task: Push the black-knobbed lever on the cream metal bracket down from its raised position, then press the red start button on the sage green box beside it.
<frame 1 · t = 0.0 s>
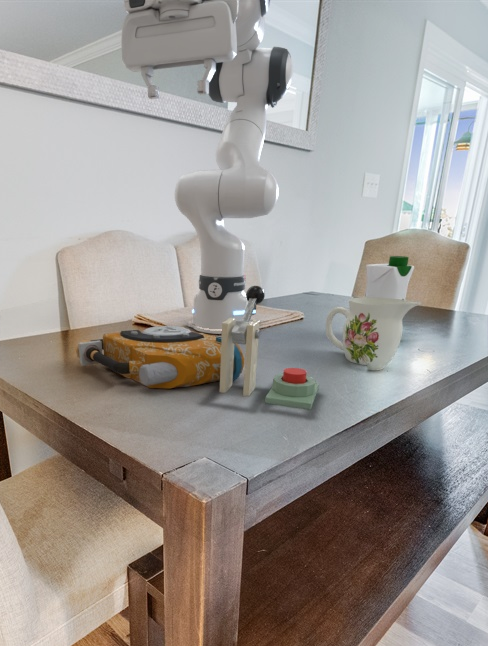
hand: (177, 96, 81), 48 cm above the table, tool pointing down, fingers open, 8 cm apart
button: (294, 376, 74), point 5 cm above the table, slide at 0.2 cm
device: (153, 376, 88), on the table, touching bracket
button box: (292, 402, 75), on the table
milk carton: (377, 339, 116), on the table
pitcher: (361, 365, 95), on the table
bracket: (237, 396, 78), on the table
lever: (248, 312, 77), point 13 cm above the table, hinge at 28.0°
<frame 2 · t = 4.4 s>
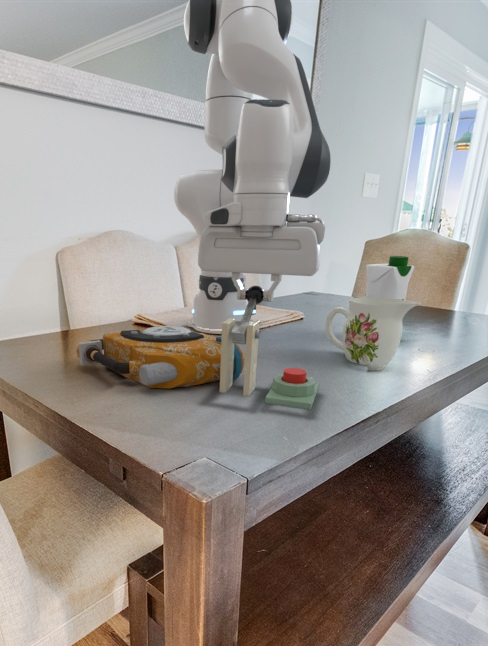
hand: (254, 300, 80), 15 cm above the table, tool pointing down, fingers closed on lever, 3 cm apart
lever: (248, 312, 77), point 13 cm above the table, hinge at 28.0°, touching gripper
everything else where it was.
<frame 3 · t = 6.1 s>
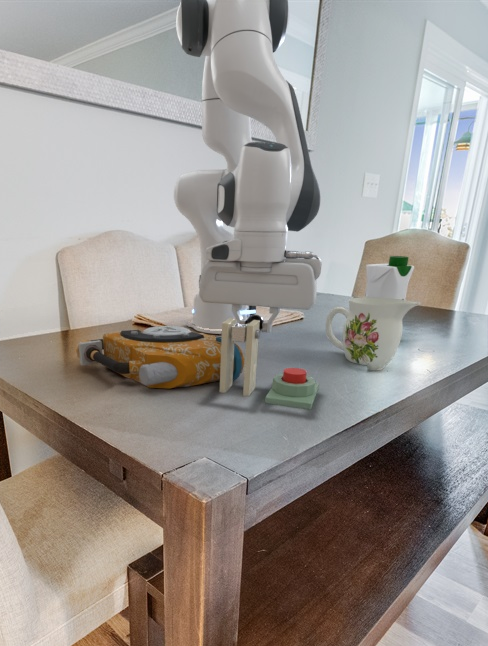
hand: (253, 330, 83), 9 cm above the table, tool pointing down, fingers closed on lever, 3 cm apart
lever: (248, 327, 78), point 11 cm above the table, hinge at -3.0°, touching gripper
everything else where it was.
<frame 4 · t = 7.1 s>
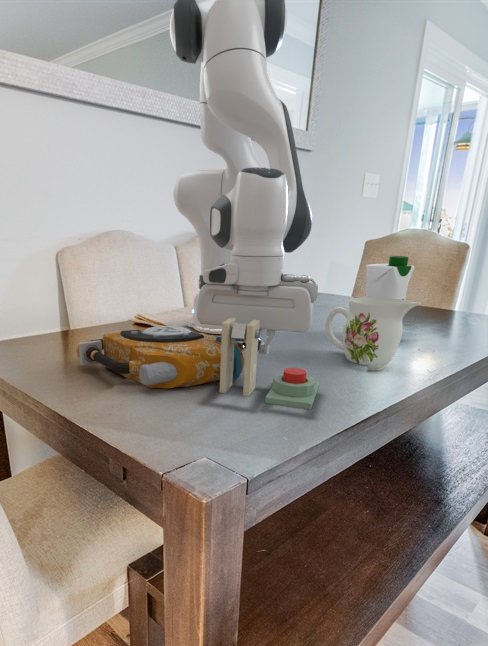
hand: (251, 352, 83), 6 cm above the table, tool pointing down, fingers closed on lever, 3 cm apart
device: (153, 376, 88), on the table, touching bracket, gripper
lever: (247, 338, 78), point 9 cm above the table, hinge at -24.1°, touching gripper
everything else where it was.
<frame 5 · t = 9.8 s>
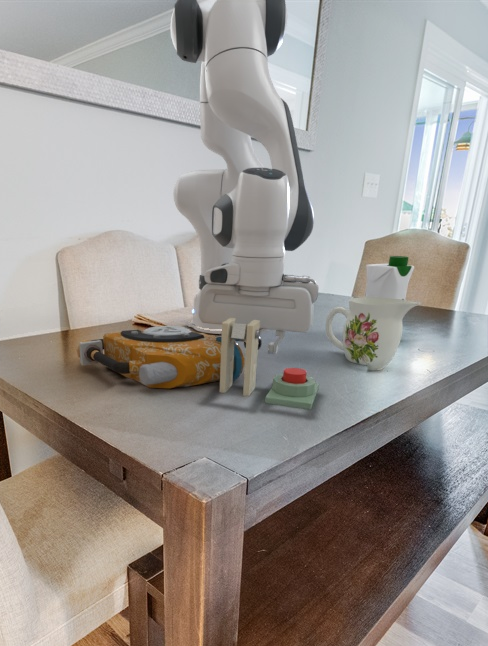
hand: (252, 351, 84), 5 cm above the table, tool pointing down, fingers open, 6 cm apart
lever: (247, 338, 78), point 9 cm above the table, hinge at -22.9°
everything else where it was.
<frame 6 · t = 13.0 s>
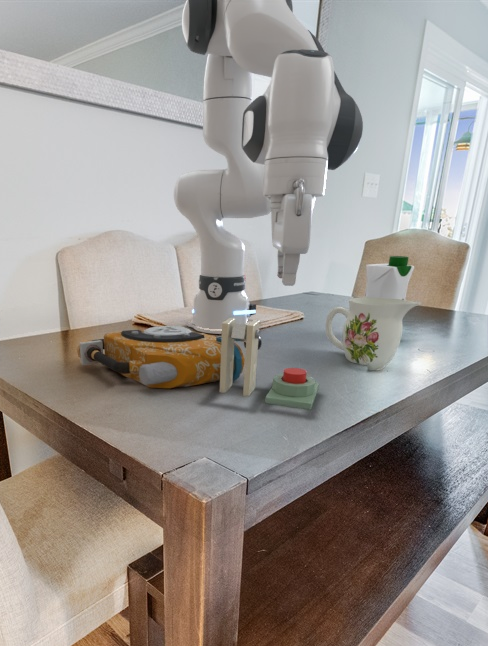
hand: (285, 281, 72), 19 cm above the table, tool pointing down, fingers open, 8 cm apart
device: (154, 376, 88), on the table, touching bracket
everything else where it was.
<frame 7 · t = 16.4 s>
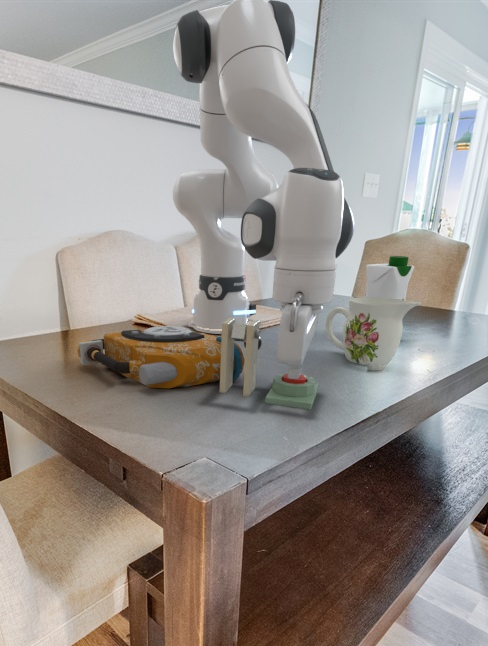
hand: (294, 376, 74), 5 cm above the table, tool pointing down, fingers closed, pressing on button
button: (294, 381, 74), point 4 cm above the table, slide at -0.8 cm, touching gripper
everything else where it was.
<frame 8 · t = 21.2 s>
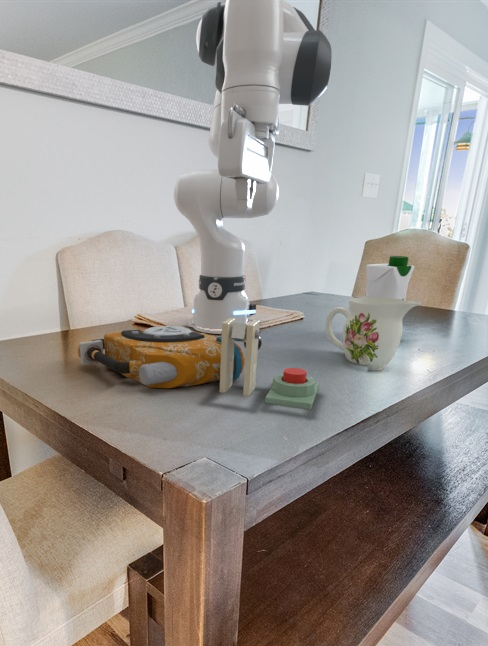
hand: (244, 211, 77), 29 cm above the table, tool pointing down, fingers closed
button: (294, 376, 74), point 5 cm above the table, slide at 0.1 cm
everything else where it was.
at the end: lever at -23° (first picture: +28°); button pushed in 1.0 cm at the most during the clip, back to where it started at the end; button slide at 0.1 cm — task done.
